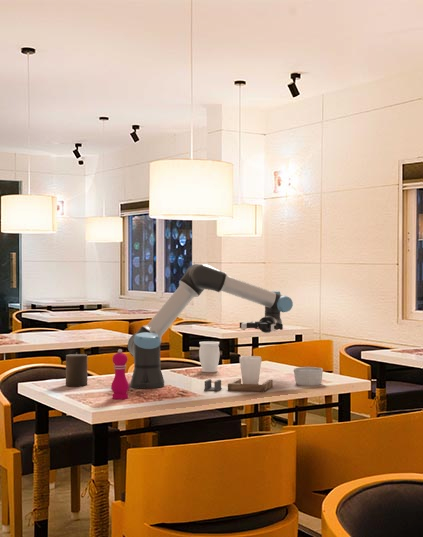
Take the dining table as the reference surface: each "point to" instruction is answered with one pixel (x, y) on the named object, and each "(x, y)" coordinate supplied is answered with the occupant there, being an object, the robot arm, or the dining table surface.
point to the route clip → (209, 388)
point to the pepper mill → (120, 377)
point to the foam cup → (250, 369)
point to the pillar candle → (76, 370)
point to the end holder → (249, 386)
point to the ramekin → (308, 376)
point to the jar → (209, 356)
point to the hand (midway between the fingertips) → (256, 327)
